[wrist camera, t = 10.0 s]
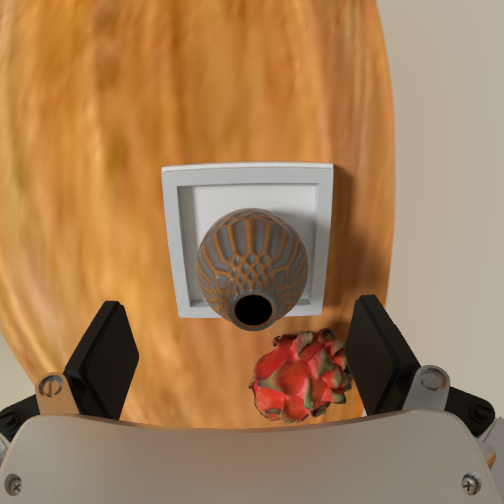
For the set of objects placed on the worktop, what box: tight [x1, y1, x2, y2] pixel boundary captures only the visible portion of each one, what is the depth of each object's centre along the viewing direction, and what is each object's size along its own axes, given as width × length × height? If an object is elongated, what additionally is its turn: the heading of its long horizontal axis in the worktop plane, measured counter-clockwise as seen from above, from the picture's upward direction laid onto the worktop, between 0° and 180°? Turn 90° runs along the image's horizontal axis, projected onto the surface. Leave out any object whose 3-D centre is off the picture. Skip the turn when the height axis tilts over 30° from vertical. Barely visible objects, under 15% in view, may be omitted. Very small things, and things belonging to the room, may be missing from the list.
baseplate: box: [161, 161, 333, 318], centre depth 22 cm, size 12×12×2 cm
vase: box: [196, 208, 308, 331], centre depth 18 cm, size 7×7×9 cm
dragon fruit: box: [249, 327, 353, 423], centre depth 24 cm, size 8×8×12 cm
